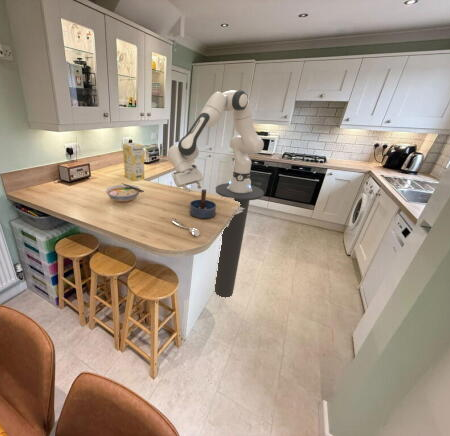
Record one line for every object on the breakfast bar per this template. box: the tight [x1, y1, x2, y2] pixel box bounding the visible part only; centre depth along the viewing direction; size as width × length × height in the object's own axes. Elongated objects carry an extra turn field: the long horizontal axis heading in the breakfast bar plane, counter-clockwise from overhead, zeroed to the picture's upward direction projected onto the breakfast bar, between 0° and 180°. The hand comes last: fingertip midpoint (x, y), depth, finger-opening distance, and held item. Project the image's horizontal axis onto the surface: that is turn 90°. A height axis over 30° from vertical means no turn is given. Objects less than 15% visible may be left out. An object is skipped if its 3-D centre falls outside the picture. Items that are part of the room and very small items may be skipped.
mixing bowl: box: [189, 198, 217, 219], centre depth 137 cm, size 15×15×6 cm
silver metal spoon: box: [171, 217, 201, 237], centre depth 121 cm, size 20×4×5 cm
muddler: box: [199, 188, 207, 209], centre depth 135 cm, size 4×4×14 cm
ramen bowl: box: [105, 182, 145, 203], centre depth 155 cm, size 25×23×8 cm
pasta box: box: [122, 142, 146, 182], centre depth 199 cm, size 18×10×28 cm, turn 32°
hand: (194, 189), depth 137 cm, fingers open, 8 cm apart
